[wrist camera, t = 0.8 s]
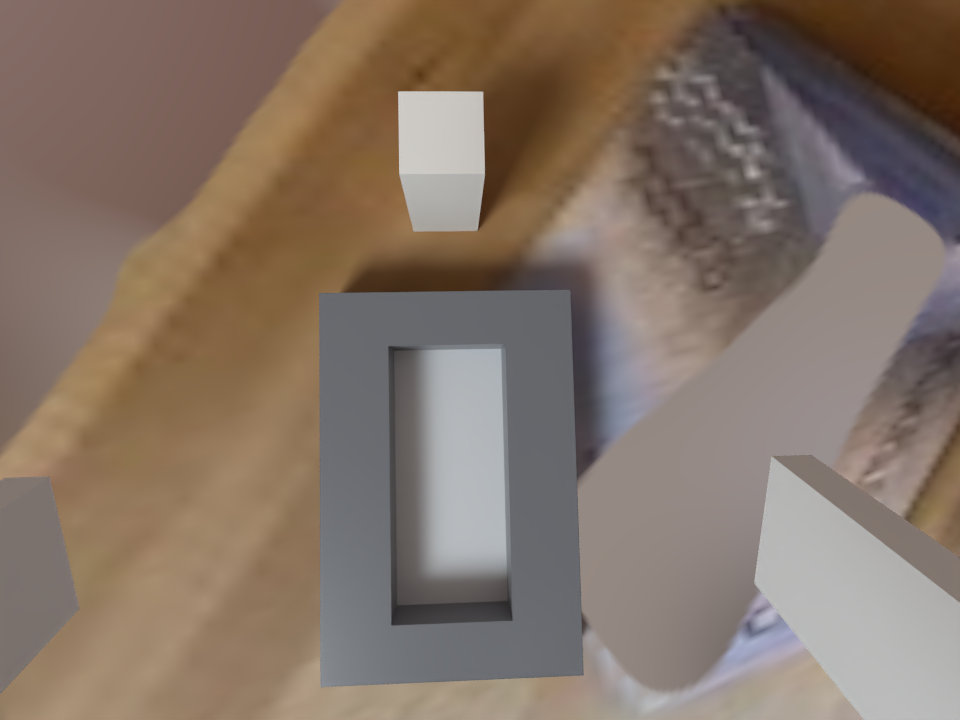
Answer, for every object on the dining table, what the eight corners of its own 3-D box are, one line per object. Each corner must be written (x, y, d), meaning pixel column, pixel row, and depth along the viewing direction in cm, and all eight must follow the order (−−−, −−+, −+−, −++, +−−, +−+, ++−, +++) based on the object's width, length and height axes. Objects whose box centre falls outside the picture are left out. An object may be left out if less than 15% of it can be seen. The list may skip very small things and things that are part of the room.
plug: (477, 230, 36) (484, 173, 27) (413, 231, 35) (399, 174, 26) (476, 168, 36) (483, 91, 27) (412, 169, 36) (398, 91, 27)
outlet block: (570, 647, 34) (583, 675, 30) (334, 657, 33) (320, 687, 30) (559, 300, 35) (570, 289, 32) (332, 303, 35) (319, 293, 31)
